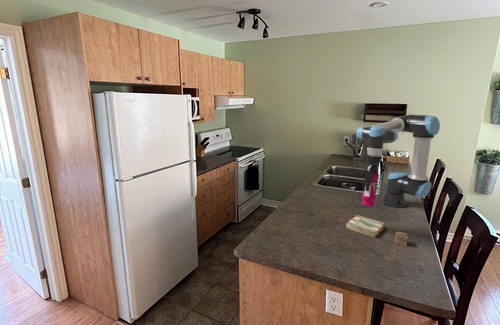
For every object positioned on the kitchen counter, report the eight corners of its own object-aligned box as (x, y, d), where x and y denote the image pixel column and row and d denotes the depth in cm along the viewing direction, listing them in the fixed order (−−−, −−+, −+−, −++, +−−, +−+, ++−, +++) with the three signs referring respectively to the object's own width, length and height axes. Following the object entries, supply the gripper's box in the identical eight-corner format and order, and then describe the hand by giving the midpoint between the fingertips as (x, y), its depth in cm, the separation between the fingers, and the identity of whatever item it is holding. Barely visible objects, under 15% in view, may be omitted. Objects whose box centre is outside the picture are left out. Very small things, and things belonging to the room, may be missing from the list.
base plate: (356, 219, 169) (357, 214, 169) (383, 227, 159) (384, 223, 158) (346, 227, 158) (346, 223, 157) (374, 237, 147) (375, 232, 147)
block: (394, 239, 146) (396, 231, 144) (405, 241, 144) (406, 233, 143) (395, 244, 141) (397, 235, 140) (406, 246, 139) (408, 237, 138)
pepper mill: (366, 207, 150) (371, 172, 146) (358, 202, 157) (362, 169, 153) (377, 206, 152) (382, 172, 148) (368, 201, 159) (373, 168, 154)
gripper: (373, 151, 158) (368, 189, 163) (360, 156, 144) (355, 197, 149) (386, 153, 153) (381, 192, 158) (375, 158, 139) (369, 200, 144)
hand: (369, 194), depth 153 cm, fingers closed on pepper mill, 6 cm apart
